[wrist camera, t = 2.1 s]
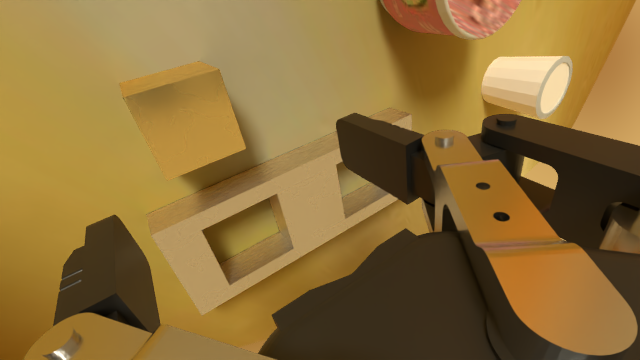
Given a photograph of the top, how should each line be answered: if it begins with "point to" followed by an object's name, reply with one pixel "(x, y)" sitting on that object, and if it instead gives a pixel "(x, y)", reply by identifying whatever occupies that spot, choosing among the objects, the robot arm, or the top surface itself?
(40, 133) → the top surface
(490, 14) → the container
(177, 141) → the wooden toy cube
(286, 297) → the top surface
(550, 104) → the white cup
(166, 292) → the top surface
